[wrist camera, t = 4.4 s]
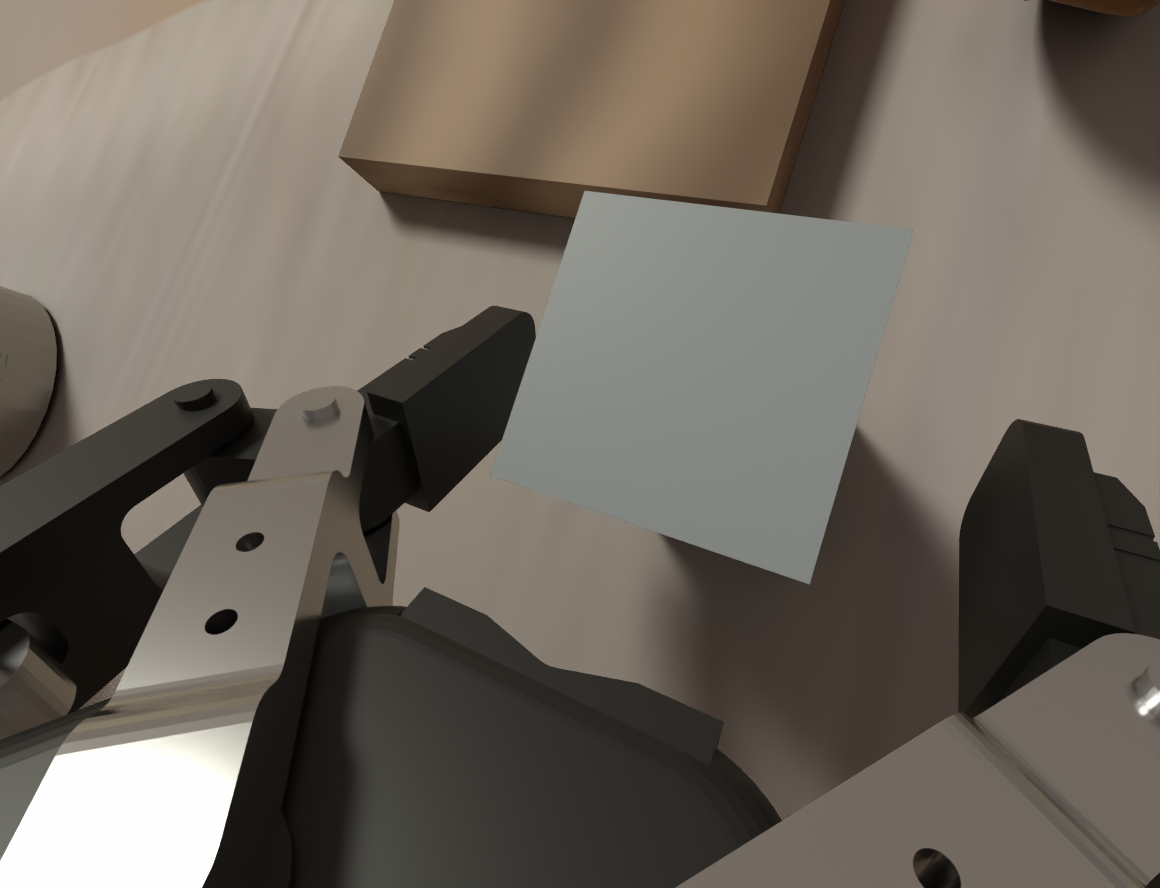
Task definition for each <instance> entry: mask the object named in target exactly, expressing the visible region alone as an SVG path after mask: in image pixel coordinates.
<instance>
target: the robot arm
mask: <svg viewBox="0 0 1160 888" xmlns="http://www.w3.org/2000/svg"><path fill="white" fill-rule="evenodd" d="M535 339H536V334H535V324H534V320H533V318H532V316H531V315H530V314H529V313H527V312H522V311H517V310H513V309H508V308H503V307H499V306H491V307H489V308H487V309H486V310H484V311H483V312H482V313H480V314H479V315H477V316H476V317H474V318H473V319H471V320H470V321H469V322H467V323H466V324H464V325H463V326H461V327H458V328H455V329H453V330H450V331H447V332H444V333H442V334H440V335H439V336H437V337H436V338H434V339H433V340H431V341H430V342H428V343H427V344H426V345H424V348H423V349H422V348H420V349H418V350H417V351H415V352H414V353H412V354H411V355H409V359H406V358H405V359H403V360H402V361H401V362H399V363H398V364H396V365H395V366H393V367H392V368H390V369H389V370H387V371H386V372H384V373H383V374H381V375H380V376H378V377H377V378H376V379H374V380H373V381H371V382H370V383H368V384H367V385H365V386H364V387H362V388H361V389H359V390H358V391H356V390H354V389H351V388H347V387H339V386H331V387H322V388H317V389H312V390H309V391H306V392H303V393H301V394H298V395H296V396H294V397H292V398H291V399H289V400H287V401H286V402H285V403H283V404H282V405H281V406H280V407H279V408H278V409H262V408H250V406H249V404H248V401H247V399H246V397H245V395H244V392H243V390H242V388H241V386H240V385H239V384H238V383H236V382H234V381H231V380H226V379H209V380H202V381H197V382H193V383H189V384H186V385H183V386H181V387H178V388H176V389H174V390H172V391H170V392H168V393H166V394H164V395H162V396H161V397H159V398H157V399H155V400H153V401H152V402H150V403H148V404H146V405H144V406H143V407H141V408H139V409H137V410H135V411H134V412H132V413H130V414H128V415H126V416H125V417H123V418H121V419H119V420H118V421H116V422H114V423H112V424H110V425H109V426H107V427H105V428H103V429H101V430H100V431H98V432H96V433H94V434H92V435H91V436H89V437H87V438H85V439H83V440H82V441H80V442H78V443H76V444H74V445H73V446H71V447H69V448H67V449H65V450H64V451H62V452H60V453H58V454H56V455H55V456H53V457H51V458H49V459H48V460H46V461H44V462H42V463H40V464H39V465H37V466H35V467H33V468H31V469H30V470H28V471H26V472H24V473H22V474H21V475H19V476H17V477H15V478H13V479H12V480H10V481H8V482H6V483H4V484H3V485H1V486H0V888H1160V550H1159V547H1158V544H1157V542H1154V541H1153V539H1154V537H1155V535H1154V532H1153V529H1152V526H1151V524H1150V521H1149V518H1148V515H1147V512H1146V509H1145V507H1144V506H1143V505H1142V504H1141V503H1140V502H1139V500H1138V499H1137V498H1136V497H1135V496H1134V495H1133V494H1132V493H1131V492H1130V491H1129V490H1128V489H1127V488H1126V487H1125V486H1124V485H1123V484H1122V483H1121V482H1120V481H1119V480H1118V478H1116V477H1111V476H1107V475H1103V474H1099V473H1094V472H1093V469H1092V465H1091V461H1090V457H1089V454H1088V450H1087V446H1086V442H1085V439H1084V436H1083V434H1082V433H1080V432H1076V431H1072V430H1067V429H1062V428H1058V427H1053V426H1048V425H1044V424H1039V423H1034V422H1030V421H1025V420H1020V419H1017V420H1015V421H1014V422H1013V423H1012V424H1011V425H1010V426H1009V428H1008V429H1007V431H1006V433H1005V434H1004V436H1003V438H1002V440H1001V442H1000V444H999V446H998V447H997V449H996V451H995V453H994V455H993V457H992V459H991V461H990V462H989V464H988V466H987V468H986V470H985V472H984V474H983V476H982V477H981V479H980V481H979V483H978V485H977V487H976V489H975V491H974V492H973V494H972V496H971V498H970V500H969V503H968V505H967V507H966V510H965V513H964V516H963V520H962V524H961V529H960V537H959V708H958V713H956V714H954V715H952V716H950V717H948V718H946V719H944V720H943V721H941V722H939V723H938V724H936V725H934V726H933V727H931V728H930V729H928V730H926V731H925V732H923V733H922V734H920V735H918V736H917V737H915V738H914V739H912V740H910V741H909V742H907V743H906V744H904V745H902V746H901V747H899V748H898V749H896V750H894V751H893V752H891V753H890V754H888V755H886V756H885V757H883V758H882V759H880V760H878V761H877V762H875V763H874V764H872V765H870V766H869V767H867V768H866V769H864V770H862V771H861V772H859V773H858V774H856V775H854V776H853V777H851V778H850V779H848V780H846V781H845V782H843V783H842V784H840V785H838V786H837V787H835V788H834V789H832V790H830V791H829V792H827V793H826V794H824V795H823V796H821V797H819V798H818V799H816V800H815V801H813V802H811V803H810V804H808V805H807V806H805V807H803V808H802V809H800V810H799V811H797V812H795V813H794V814H792V815H791V816H789V817H787V818H786V819H784V820H783V821H782V820H781V818H780V817H779V815H778V813H777V812H776V810H775V809H774V807H773V806H772V804H771V803H770V802H769V800H768V799H767V798H766V797H765V795H764V794H763V793H762V792H761V791H760V789H759V788H758V787H757V786H756V784H755V783H754V782H753V781H752V780H751V779H750V778H749V777H748V776H747V775H746V774H745V773H744V772H743V771H742V770H741V769H740V768H739V767H738V766H737V765H736V764H735V763H734V762H733V761H732V760H730V759H729V758H728V757H727V756H726V755H724V754H723V753H722V752H721V751H719V750H718V749H717V745H718V742H719V738H720V734H721V730H722V726H723V723H724V722H722V721H720V720H718V719H716V718H713V717H711V716H709V715H707V714H705V713H702V712H700V711H698V710H696V709H693V708H691V707H689V706H687V705H685V704H682V703H680V702H678V701H676V700H674V699H671V698H669V697H667V696H665V695H662V694H660V693H658V692H656V691H654V690H651V689H649V688H647V687H645V686H642V685H640V684H638V683H633V682H628V681H623V680H617V679H612V678H607V677H601V676H596V675H591V674H585V673H580V672H575V671H569V670H564V669H559V668H554V667H551V666H548V665H546V664H544V663H543V662H541V661H540V660H539V659H538V658H536V657H535V656H534V655H533V654H532V653H531V652H529V651H528V650H527V649H526V648H525V647H524V646H522V645H521V644H520V643H519V642H518V641H516V640H515V639H514V638H513V637H512V636H511V635H509V634H508V633H507V632H506V631H505V630H504V629H502V628H501V627H500V626H499V625H498V624H497V623H495V622H494V621H493V620H492V619H491V618H489V617H488V616H487V615H485V614H483V613H481V612H478V611H476V610H474V609H472V608H470V607H467V606H465V605H463V604H461V603H459V602H456V601H454V600H452V599H450V598H447V597H445V596H443V595H441V594H439V593H436V592H434V591H432V590H430V589H428V588H425V587H424V589H423V590H422V591H421V592H420V593H419V594H418V595H417V596H416V598H415V599H414V600H413V601H412V602H411V603H410V604H409V605H408V607H403V606H393V589H394V578H395V567H396V556H397V546H398V535H399V517H398V514H397V509H398V508H399V507H400V506H401V505H402V504H403V503H407V504H410V505H412V506H415V507H417V508H420V509H422V510H425V511H427V512H430V511H431V510H432V509H433V508H434V507H435V506H436V505H437V504H438V503H439V502H440V501H441V500H442V499H443V498H444V497H445V496H446V495H447V494H448V493H449V492H450V491H451V490H452V489H453V488H454V487H455V486H456V485H457V484H458V483H459V482H460V481H461V480H462V479H463V478H464V477H465V476H466V475H467V474H468V473H469V472H470V471H471V470H472V469H473V468H474V467H475V466H476V465H477V464H478V463H479V462H480V461H481V460H482V459H483V458H484V457H485V456H486V455H487V454H488V453H489V452H490V451H491V450H492V449H493V448H494V447H495V446H496V445H497V444H498V443H499V442H500V441H501V440H502V439H503V436H504V433H505V430H506V427H507V424H508V421H509V418H510V415H511V412H512V409H513V405H514V402H515V399H516V396H517V393H518V390H519V387H520V384H521V381H522V378H523V375H524V372H525V369H526V366H527V363H528V360H529V357H530V354H531V351H532V348H533V345H534V342H535ZM56 361H57V346H56V339H55V332H54V328H53V326H52V323H51V320H50V317H49V315H48V313H47V312H46V311H45V309H44V308H43V306H42V305H41V304H40V303H39V302H38V301H36V300H35V299H34V298H32V297H31V296H28V295H25V294H22V293H19V292H16V291H13V290H10V289H7V288H4V287H1V286H0V476H2V475H3V474H4V473H5V472H7V471H8V470H9V469H10V468H11V467H12V466H13V465H14V464H15V463H16V462H17V461H18V459H19V458H20V457H21V456H22V455H23V453H24V452H25V451H26V449H27V448H28V446H29V444H30V443H31V441H32V440H33V438H34V437H35V435H36V433H37V431H38V429H39V427H40V424H41V422H42V420H43V418H44V416H45V414H46V411H47V407H48V404H49V401H50V398H51V394H52V391H53V386H54V380H55V374H56ZM182 473H184V475H185V477H186V478H187V480H188V482H189V484H190V485H191V487H192V489H193V491H194V492H195V494H196V496H197V498H198V499H199V501H200V503H201V505H200V506H199V507H198V508H196V509H195V510H193V511H192V512H191V513H189V514H188V515H187V516H185V517H184V518H183V519H181V520H180V521H179V522H177V523H176V524H175V525H173V526H172V527H171V528H169V529H168V530H167V531H165V532H164V533H163V534H161V535H160V536H158V537H157V538H156V539H154V540H153V541H152V542H150V543H149V544H148V545H146V546H145V547H144V548H142V549H141V550H140V551H138V552H137V553H136V554H133V552H132V551H131V550H130V548H129V547H128V546H127V544H126V543H125V541H124V540H123V538H122V536H121V524H122V521H123V519H124V517H125V515H126V514H127V513H128V512H129V511H130V510H131V509H132V508H133V507H134V506H135V505H137V504H138V503H140V502H141V501H143V500H144V499H146V498H147V497H149V496H150V495H152V494H153V493H155V492H156V491H157V490H159V489H160V488H162V487H163V486H165V485H166V484H168V483H169V482H171V481H172V480H174V479H175V478H177V477H178V476H180V475H181V474H182ZM7 618H8V619H7ZM126 667H127V668H126ZM125 668H126V670H125V672H124V674H123V677H122V679H121V681H120V683H119V685H118V687H117V689H116V691H115V693H114V695H113V697H112V698H109V699H107V700H104V701H101V702H99V703H96V704H93V705H91V706H88V707H85V708H83V709H80V710H78V709H79V708H80V707H82V706H83V705H84V704H85V703H86V702H87V701H88V700H89V699H91V698H92V697H93V696H94V695H95V694H96V693H97V692H99V691H100V690H101V689H102V688H103V687H104V686H105V685H107V684H108V683H109V682H110V681H111V680H112V679H113V678H115V677H116V676H117V675H118V674H119V673H120V672H121V671H122V670H124V669H125Z"/></svg>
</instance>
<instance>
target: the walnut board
mask: <svg viewBox="0 0 1160 888" xmlns="http://www.w3.org/2000/svg"><path fill="white" fill-rule="evenodd" d="M844 1H845V0H394V3H393V6H392V9H391V11H390V14H389V17H388V20H387V22H386V25H385V28H384V31H383V34H382V36H381V39H380V42H379V45H378V47H377V50H376V53H375V56H374V59H373V61H372V64H371V67H370V70H369V73H368V75H367V78H366V81H365V84H364V86H363V89H362V92H361V95H360V98H359V100H358V103H357V106H356V109H355V111H354V114H353V117H352V120H351V123H350V125H349V128H348V131H347V134H346V137H345V139H344V142H343V145H342V148H341V150H340V153H339V156H338V157H339V158H341V159H342V160H343V161H344V162H345V163H346V164H348V165H349V166H350V167H351V168H352V169H353V170H354V171H356V172H357V173H358V174H359V175H360V176H361V177H363V178H364V179H365V180H366V181H367V182H368V183H369V184H371V185H372V186H373V187H374V188H375V189H376V190H378V191H382V192H390V193H397V194H404V195H411V196H418V197H426V198H433V199H440V200H447V201H454V202H462V203H469V204H476V205H483V206H490V207H498V208H505V209H512V210H519V211H526V212H533V213H541V214H548V215H555V216H562V217H569V218H576V215H577V212H578V209H579V206H580V203H581V200H582V197H583V194H584V191H591V192H600V193H608V194H617V195H625V196H634V197H642V198H651V199H659V200H668V201H676V202H685V203H693V204H702V205H710V206H719V207H727V208H736V209H744V210H753V211H761V212H770V213H778V214H779V211H780V208H781V205H782V202H783V199H784V195H785V192H786V189H787V186H788V182H789V179H790V176H791V173H792V169H793V166H794V163H795V160H796V157H797V153H798V150H799V147H800V144H801V140H802V137H803V134H804V131H805V127H806V124H807V121H808V118H809V114H810V111H811V108H812V105H813V102H814V98H815V95H816V92H817V89H818V85H819V82H820V79H821V76H822V72H823V69H824V66H825V63H826V60H827V56H828V53H829V50H830V47H831V43H832V40H833V37H834V34H835V30H836V27H837V24H838V21H839V18H840V14H841V11H842V8H843V5H844Z"/></svg>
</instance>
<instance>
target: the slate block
mask: <svg viewBox="0 0 1160 888" xmlns="http://www.w3.org/2000/svg"><path fill="white" fill-rule="evenodd" d="M913 231H914V229H906V228H897V227H889V226H880V225H872V224H863V223H855V222H846V221H838V220H829V219H821V218H812V217H804V216H795V215H787V214H778V213H770V212H761V211H753V210H744V209H736V208H727V207H719V206H710V205H702V204H693V203H685V202H676V201H668V200H659V199H651V198H642V197H634V196H625V195H617V194H608V193H600V192H591V191H584V194H583V197H582V200H581V203H580V206H579V209H578V212H577V215H576V218H575V221H574V224H573V227H572V230H571V233H570V236H569V239H568V242H567V245H566V248H565V251H564V255H563V258H562V261H561V264H560V267H559V270H558V273H557V276H556V279H555V282H554V285H553V288H552V291H551V294H550V297H549V300H548V303H547V306H546V309H545V312H544V315H543V318H542V321H541V324H540V327H539V330H538V333H537V336H536V339H535V342H534V345H533V348H532V351H531V354H530V357H529V360H528V363H527V366H526V369H525V372H524V375H523V378H522V381H521V384H520V387H519V390H518V393H517V396H516V399H515V402H514V405H513V409H512V412H511V415H510V418H509V421H508V424H507V427H506V430H505V433H504V436H503V439H502V442H501V445H500V448H499V451H498V454H497V457H496V460H495V463H494V466H493V469H492V472H491V475H490V476H493V477H496V478H499V479H502V480H505V481H507V482H510V483H513V484H516V485H519V486H522V487H525V488H528V489H531V490H534V491H537V492H540V493H543V494H546V495H549V496H551V497H554V498H557V499H560V500H563V501H566V502H569V503H572V504H575V505H578V506H581V507H584V508H587V509H590V510H593V511H595V512H598V513H601V514H604V515H607V516H610V517H613V518H616V519H619V520H622V521H625V522H628V523H631V524H634V525H636V526H639V527H642V528H645V529H648V530H651V531H654V532H657V533H660V534H663V535H666V536H669V537H672V538H675V539H678V540H680V541H683V542H686V543H689V544H692V545H695V546H698V547H701V548H704V549H707V550H710V551H713V552H716V553H719V554H722V555H724V556H727V557H730V558H733V559H736V560H739V561H742V562H745V563H748V564H751V565H754V566H757V567H760V568H763V569H766V570H768V571H771V572H774V573H777V574H780V575H783V576H786V577H789V578H792V579H795V580H798V581H801V582H804V583H807V584H810V581H811V578H812V574H813V571H814V568H815V564H816V561H817V557H818V554H819V551H820V547H821V544H822V540H823V537H824V534H825V530H826V527H827V523H828V520H829V517H830V513H831V510H832V506H833V503H834V500H835V496H836V493H837V489H838V486H839V483H840V479H841V476H842V472H843V469H844V466H845V462H846V459H847V455H848V452H849V449H850V445H851V442H852V438H853V435H854V432H855V428H856V425H857V421H858V418H859V415H860V411H861V408H862V404H863V401H864V398H865V394H866V391H867V387H868V384H869V380H870V377H871V374H872V370H873V367H874V363H875V360H876V357H877V353H878V350H879V346H880V343H881V340H882V336H883V333H884V329H885V326H886V323H887V319H888V316H889V312H890V309H891V306H892V302H893V299H894V295H895V292H896V289H897V285H898V282H899V278H900V275H901V272H902V268H903V265H904V261H905V258H906V255H907V251H908V248H909V244H910V241H911V238H912V234H913Z"/></svg>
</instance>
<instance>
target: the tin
mask: <svg viewBox="0 0 1160 888" xmlns="http://www.w3.org/2000/svg"><path fill="white" fill-rule="evenodd" d="M1025 1H1028V0H1025ZM1049 1H1053V2H1057V3H1062V4H1066V5H1070V6H1074V7H1079V8H1083V9H1087V10H1092V11H1096V12H1100V13H1106V14H1111V15H1118V16H1135V15H1140V14H1143V13H1145V12H1147V11H1149V10H1151V9H1152V8H1154V7H1155V6H1156V5H1157V4H1158V3H1159V2H1160V0H1049Z"/></svg>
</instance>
